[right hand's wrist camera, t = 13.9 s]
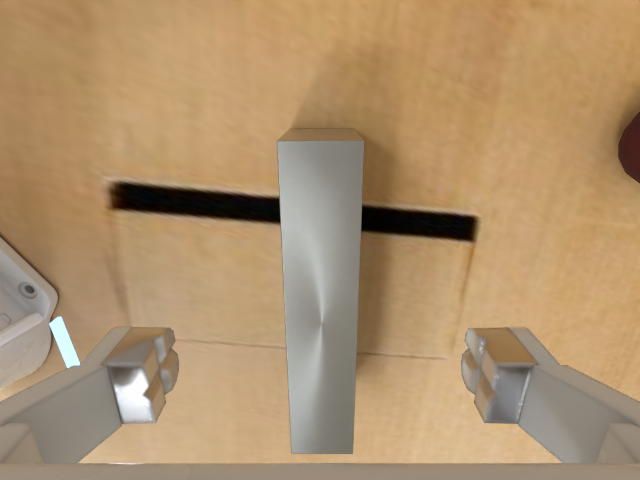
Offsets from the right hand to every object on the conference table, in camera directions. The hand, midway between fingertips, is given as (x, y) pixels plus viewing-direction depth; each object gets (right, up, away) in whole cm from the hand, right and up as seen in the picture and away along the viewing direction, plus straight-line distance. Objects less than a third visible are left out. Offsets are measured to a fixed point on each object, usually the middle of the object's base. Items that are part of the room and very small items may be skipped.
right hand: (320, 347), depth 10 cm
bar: (0, 0, +24) cm, 24 cm away
